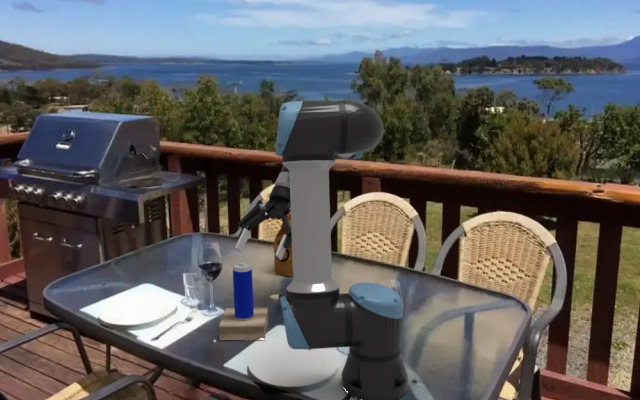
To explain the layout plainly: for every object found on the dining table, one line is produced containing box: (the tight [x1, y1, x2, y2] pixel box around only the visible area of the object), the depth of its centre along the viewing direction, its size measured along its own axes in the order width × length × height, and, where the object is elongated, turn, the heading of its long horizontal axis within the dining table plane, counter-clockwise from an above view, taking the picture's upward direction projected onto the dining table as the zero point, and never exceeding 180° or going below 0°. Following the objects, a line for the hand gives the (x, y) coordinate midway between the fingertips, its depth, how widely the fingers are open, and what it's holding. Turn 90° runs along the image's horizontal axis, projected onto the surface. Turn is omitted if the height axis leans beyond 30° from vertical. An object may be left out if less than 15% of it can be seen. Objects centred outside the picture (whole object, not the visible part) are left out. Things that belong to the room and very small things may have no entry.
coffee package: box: [273, 212, 293, 278], centre depth 200 cm, size 10×12×22 cm
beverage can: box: [232, 262, 255, 320], centre depth 155 cm, size 5×5×15 cm
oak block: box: [218, 307, 269, 341], centre depth 157 cm, size 12×12×4 cm
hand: (257, 253), depth 159 cm, fingers open, 13 cm apart
